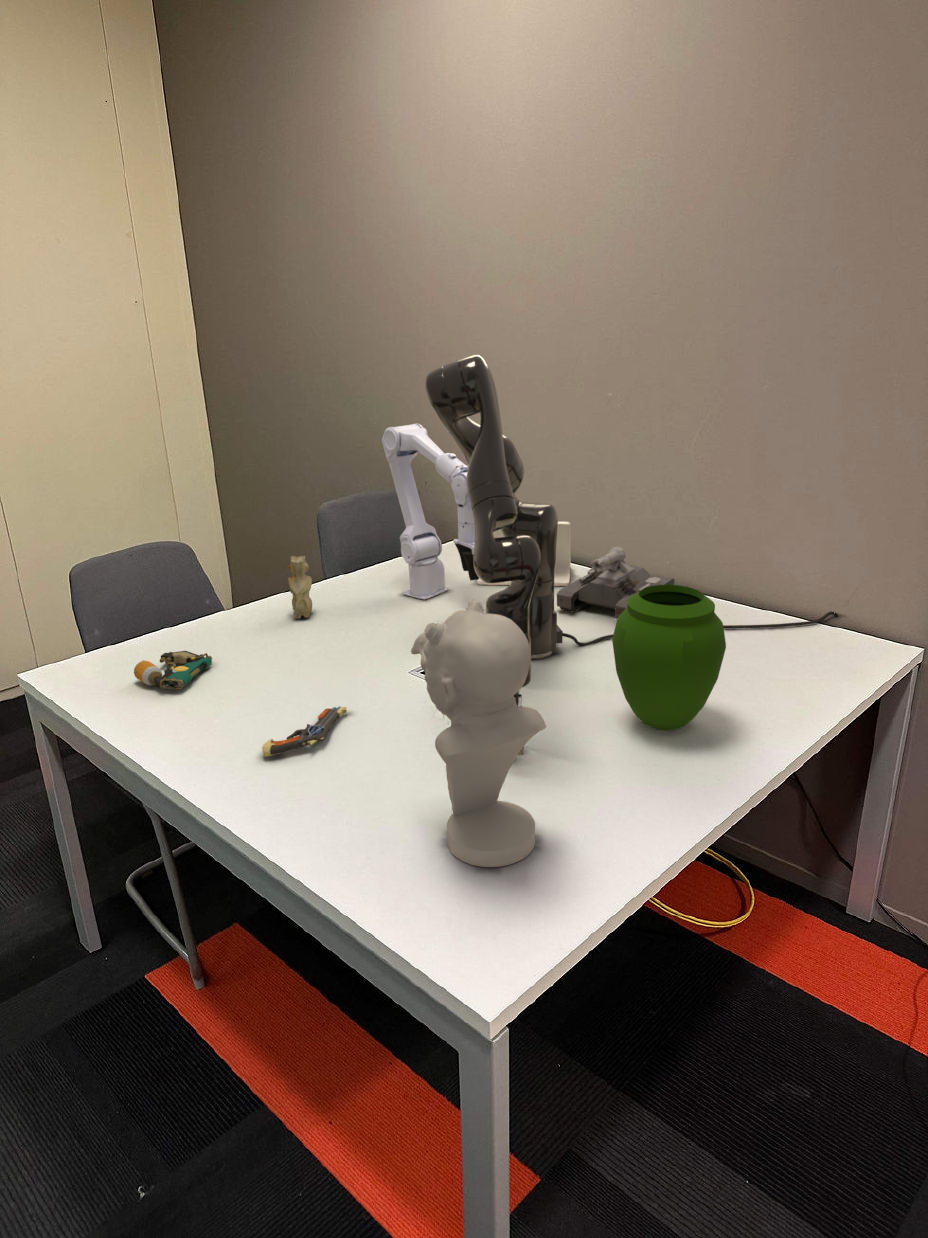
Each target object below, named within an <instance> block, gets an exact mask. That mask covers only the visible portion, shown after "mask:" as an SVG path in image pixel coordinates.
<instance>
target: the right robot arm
mask: <svg viewBox="0 0 928 1238" xmlns="http://www.w3.org/2000/svg"><path fill="white" fill-rule="evenodd" d="M494 379H495V378H494V377H493V373H492V371H491V368H490V367H489V365H488V363H487V361H486V359H485V358H483V356H481V355H479V354H471V355H469V356H466V357H463V358H461V359H458V360H455V361H452V362H450V363H447V364H445V365H442V366H440V367H437V368H435V369H433V370H431V371H430V372H429V373H428V374H427V375H426V376H425V379H424V380H425V381H424V388H425V389H424V390H425V393H426V396H427V398H428V401H429V403H430V405H431V408H432V410H433V411H434V413H435V414H436V416H437V417H438V419H439V421H440V422H441V423H442V424H443V426H444V427H445V429H446V430H447V432H448V433H449V434H450V436H451V437H452V439H453V441H455V443H456V444H457V446H458V447H459V449H460V451H461V453H462V455H463V457H464V459H465V461H466V462H467V464H468V465H467V466H468V471H467V490H468V495H469V499H470V503H471V507H472V511H473V516H474V523H475V545H474V558H473V564H474V570H475V572H476V574H477V576H478V577H479V578H480V579H481V580H482V581H483V582H485V583H500V582H507V581H511V584H510V585H508V586H507V587H506V588H505V589H503V590H500V591H498V592H495V593H493V594H491V595H490V596H489V597H488V598H487V599H486V601H485V614H497V615H502V616H505V617H507V618H509V619H511V620H512V621H513V622H514V623H515V624H516V625H517V626H518V627H519V628H520V629H521V630H522V632H523V633H524V634H525V636H526V638H527V640H528V643H529V646H530V652H531V653H530V655H531V656H530V666H529V671H528V675H527V678H526V680H525V683H524V685H523V686H522V688H525V687H526V686H528V685H529V684H530V683H531V681H532V660H540V659H545V658H548V657H550V656H552V655H557V654H558V653H557V650H558V649H557V648H558V647H557V645H558V644H563V638H568V639H571V640H572V641H573V642H574V643H575V644H576V645H577V646H581V647H586V646H590V645H593V644H594V645H595V644H597V643H598V642H602V641H604V640H607V639H608V640H609V639H612V638H613V634H614V633H613V634H608V635H607V634H606V635H603V636H600V637H597V638H595V639H593V640H591V641H587V642H582V641H581V642H580V641H579V640H578V639H577V638H576V637H575V636H574V635H572V634H569V633H565V632H563V630H562V629H561V627H560V626H559V625H558V613H557V612H556V611H555V586H554V570H555V563H556V545H557V531H558V522H559V518H558V512H557V509H556V507H555V506H554V505H553V504H550V503H544V502H543V503H542V502H531V501H523V500H520V499H518V498H517V496H516V494H517V492H518V491H519V489H520V488H521V486H522V484H523V481H524V477H525V466H524V463H523V461H522V458H521V456H520V454H519V452H518V449H517V448H516V446H515V444H514V442H512V440H511V438H509V437H507V436H506V435H505V434H503V425H502V419H501V418H502V417H501V412H500V405H499V404H500V403H499V397H498V391H497V386H496V383H495V380H494ZM477 414H479V415H480V422H477V421H474V420H473V419H471V416H473V415H477ZM500 529H501V530H502V533H503V535H504V537H500V538H494V536H493V532H495V531H497V530H500ZM832 611H833V610H831V611H828V612H826V613H825V614H824V615H822V616H821V617H819V618H817V619H814V620H808V621H799V622H797V621H796V622H786V623H772V624H769V623H768V624H735V625H733V624H732V625H731V624H730V625H729V624H728V625H724V624H723V627H724V630H725V629H763V628H764V629H766V628H768V629H769V628H783V627H796V626H797V627H798V626H807V625H814V624H817V623H820V622H822V621H824V620H825V619H827V618H828V617H829V616H831V615H833V616H834V617H837V618H838V617H839V614H838V613H837V612H835V611H833V612H832ZM834 612H835V614H834ZM514 697H515V698H516V705H517V706H518V707H522V704H523V696H522V694H521V693H520V690H519V691H518V692H517V693H516V694H515V695H514Z"/></svg>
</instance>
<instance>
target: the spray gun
mask: <svg viewBox="0 0 928 1238" xmlns="http://www.w3.org/2000/svg"><path fill="white" fill-rule="evenodd" d="M212 660H213V657H212V656H211V655H208V653H207V652H205V653H201V654H197V653H194V652H192V651H191V652H190V651H188V650H180V651H169V652H164V653H162V654H161V655H160V658H159V660H158V662H159V663H161V664H163V663H165V664H166V668H165V670H163V672H164V674H163V673H162V669H160V668H159V666H157V665H156V664H154V663H152V662H151V661H149V660H141V661H139V662H138V663H136V665H135V666H134V668H133V675H134V677H135V678H136V679H137V680H139V681H140V682H142V683H143V684H145V685H147V686H155V685H157V686H158V687H160V688H161V689H171V690H172V689H173V690H182V689H184V687H185V686H186V685H188V684H189V683H190V682H191V681H192V679H193V678H195V677H196V676H197V675H198V674H200V673H201V672H202V671H203V670H206V669H208V668H209V667H210V666H211V665H212V662H213V661H212ZM178 663H179V664H181V665H179V666H176V665H177V664H178Z"/></svg>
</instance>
